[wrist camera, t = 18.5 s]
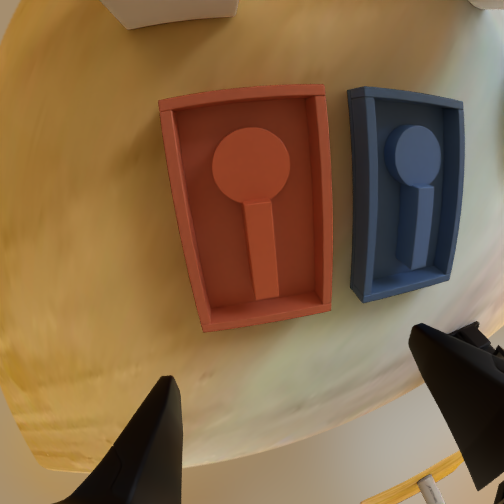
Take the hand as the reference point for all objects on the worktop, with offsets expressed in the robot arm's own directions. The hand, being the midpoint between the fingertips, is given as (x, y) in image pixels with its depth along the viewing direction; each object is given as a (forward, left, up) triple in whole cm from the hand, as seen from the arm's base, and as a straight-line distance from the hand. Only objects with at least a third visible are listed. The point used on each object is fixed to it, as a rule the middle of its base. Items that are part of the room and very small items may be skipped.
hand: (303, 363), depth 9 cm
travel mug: (-104, -54, -12) cm, 118 cm away
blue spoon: (+2, -12, -12) cm, 17 cm away
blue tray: (+2, -12, -12) cm, 17 cm away
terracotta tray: (+2, 0, -12) cm, 12 cm away
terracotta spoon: (+2, 0, -12) cm, 12 cm away
